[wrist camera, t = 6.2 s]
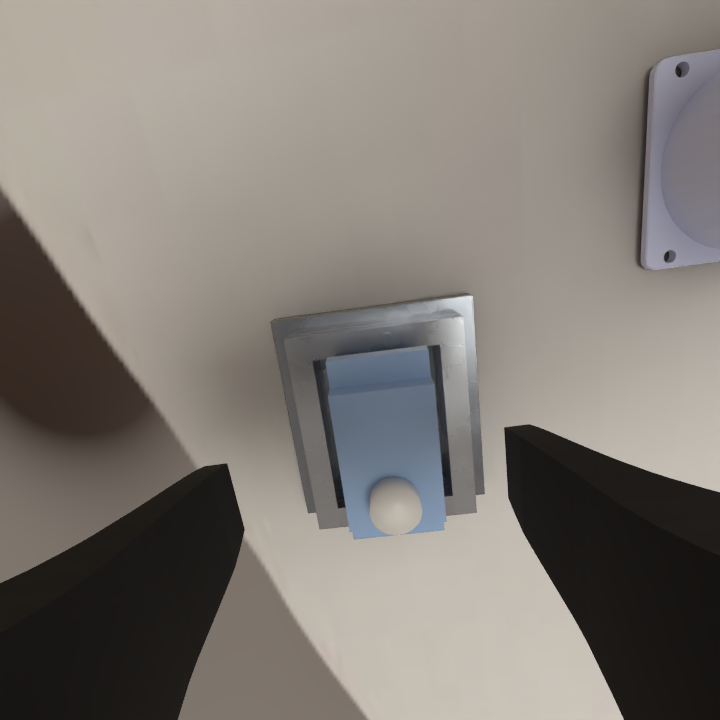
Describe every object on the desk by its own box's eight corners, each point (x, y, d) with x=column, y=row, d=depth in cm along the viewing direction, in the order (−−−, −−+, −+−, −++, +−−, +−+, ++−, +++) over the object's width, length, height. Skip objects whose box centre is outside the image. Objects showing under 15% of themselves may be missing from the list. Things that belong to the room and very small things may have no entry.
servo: (414, 326, 18) (436, 361, 12) (428, 472, 20) (453, 560, 14) (334, 336, 18) (320, 376, 12) (356, 480, 20) (352, 570, 14)
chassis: (467, 293, 18) (485, 301, 16) (480, 485, 21) (497, 519, 18) (274, 319, 19) (259, 330, 16) (310, 503, 21) (302, 540, 19)
